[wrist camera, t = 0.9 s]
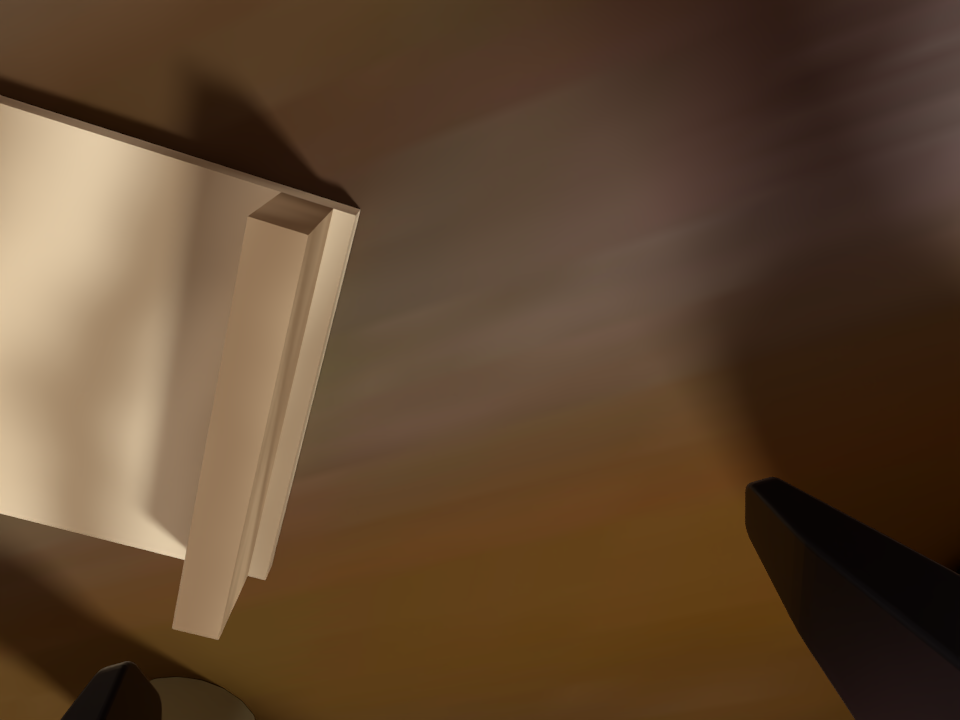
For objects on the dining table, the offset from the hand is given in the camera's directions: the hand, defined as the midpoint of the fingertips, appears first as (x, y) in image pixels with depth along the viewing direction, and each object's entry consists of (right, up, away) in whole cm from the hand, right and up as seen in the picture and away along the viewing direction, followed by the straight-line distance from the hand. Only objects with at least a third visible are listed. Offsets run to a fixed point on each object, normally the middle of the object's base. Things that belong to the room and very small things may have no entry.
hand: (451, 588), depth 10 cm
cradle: (-11, +3, +13) cm, 17 cm away
